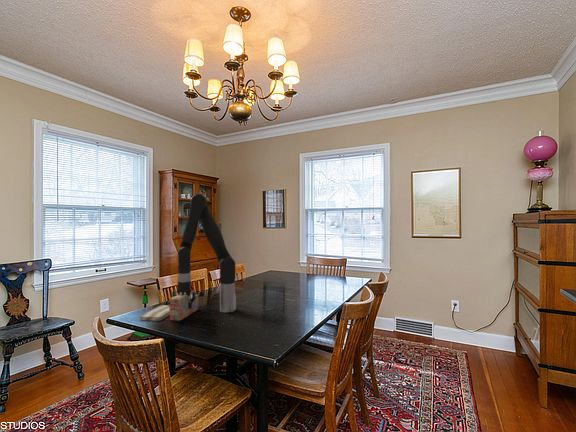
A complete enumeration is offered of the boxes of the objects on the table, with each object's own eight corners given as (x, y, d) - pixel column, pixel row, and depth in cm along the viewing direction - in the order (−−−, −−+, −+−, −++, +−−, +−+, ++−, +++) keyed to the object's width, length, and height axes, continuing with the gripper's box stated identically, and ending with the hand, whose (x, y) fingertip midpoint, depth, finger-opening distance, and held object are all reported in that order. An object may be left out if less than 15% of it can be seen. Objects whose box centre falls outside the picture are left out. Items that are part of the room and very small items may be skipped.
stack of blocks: (189, 308, 188) (189, 289, 188) (198, 309, 186) (198, 289, 187) (169, 320, 167) (169, 298, 167) (179, 321, 166) (179, 298, 166)
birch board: (178, 308, 188) (178, 305, 188) (160, 320, 166) (160, 317, 166) (160, 308, 189) (160, 305, 189) (140, 320, 167) (140, 316, 167)
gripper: (198, 279, 179) (198, 307, 179) (175, 278, 181) (175, 306, 181) (193, 281, 172) (193, 310, 172) (169, 281, 173) (169, 310, 173)
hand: (184, 308), depth 176 cm, fingers closed on stack of blocks, 6 cm apart
